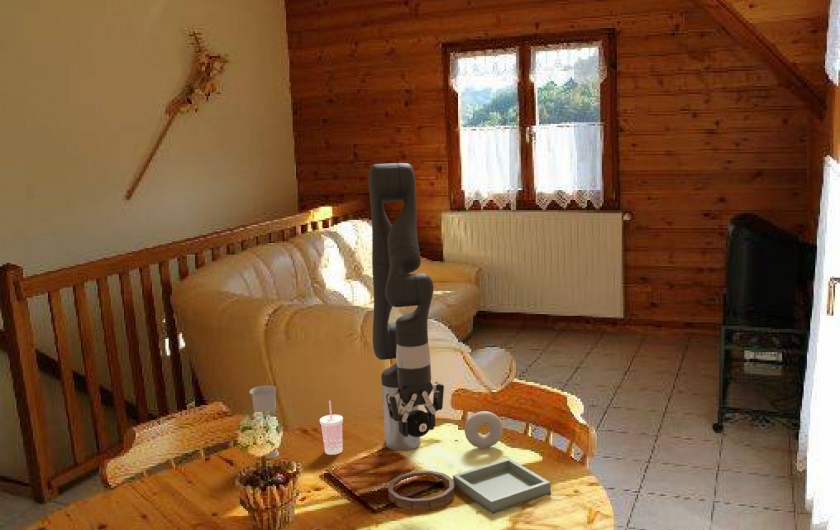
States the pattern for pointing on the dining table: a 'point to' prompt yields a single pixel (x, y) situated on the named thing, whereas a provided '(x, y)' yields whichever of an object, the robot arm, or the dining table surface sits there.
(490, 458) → the dining table surface
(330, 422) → the beverage cup
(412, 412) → the billiard ball
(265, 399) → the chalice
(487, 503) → the tray
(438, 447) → the dining table surface
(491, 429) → the donut
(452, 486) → the walnut ring
